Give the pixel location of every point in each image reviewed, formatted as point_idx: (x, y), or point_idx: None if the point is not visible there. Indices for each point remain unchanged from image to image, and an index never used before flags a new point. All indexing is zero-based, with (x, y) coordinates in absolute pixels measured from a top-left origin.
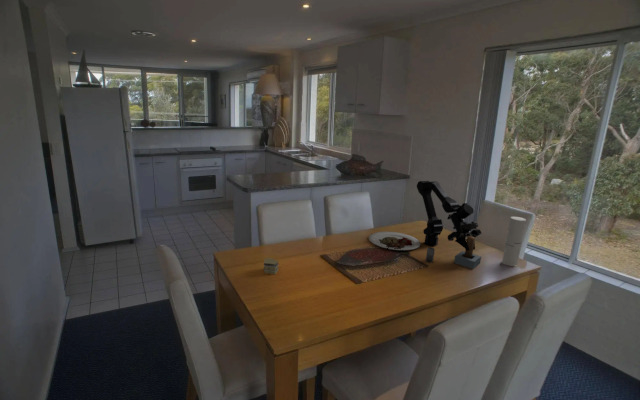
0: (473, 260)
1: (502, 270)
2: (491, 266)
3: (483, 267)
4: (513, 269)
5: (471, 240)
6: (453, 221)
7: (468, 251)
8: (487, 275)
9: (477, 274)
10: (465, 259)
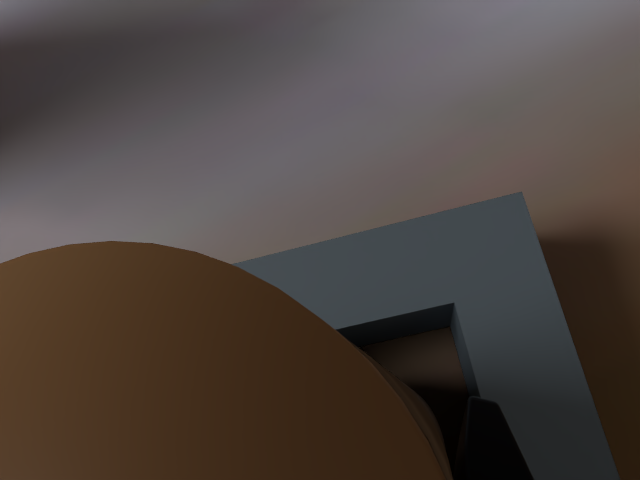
0: (487, 239)
1: (164, 40)
2: (156, 172)
3: (291, 203)
4: (29, 10)
5: (395, 389)
6: None
7: (439, 430)
8: (505, 18)
9: (627, 91)
10: (582, 387)
